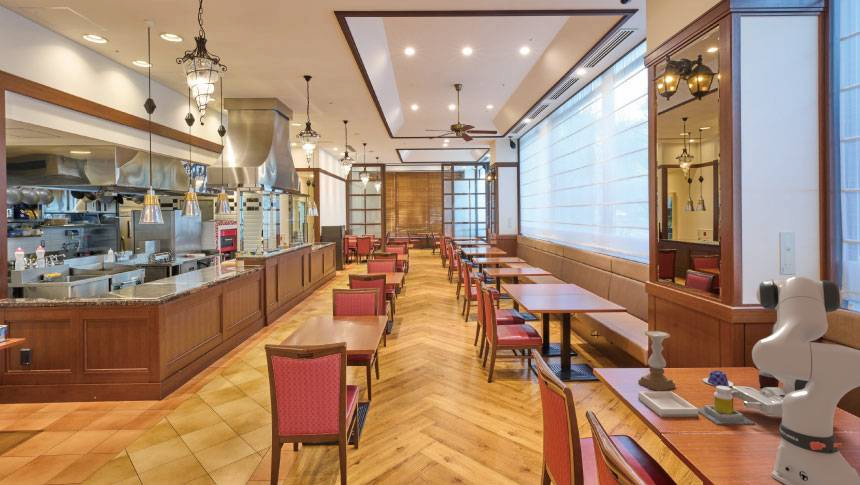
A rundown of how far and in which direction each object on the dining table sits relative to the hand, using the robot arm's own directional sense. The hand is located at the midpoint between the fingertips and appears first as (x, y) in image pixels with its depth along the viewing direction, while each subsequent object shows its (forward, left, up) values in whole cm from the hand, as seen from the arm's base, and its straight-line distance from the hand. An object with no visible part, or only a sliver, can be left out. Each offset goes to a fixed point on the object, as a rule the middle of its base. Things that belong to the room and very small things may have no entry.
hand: (736, 399), depth 167 cm
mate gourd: (+27, -33, -7) cm, 43 cm away
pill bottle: (0, +5, -7) cm, 8 cm away
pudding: (+36, -17, -7) cm, 41 cm away
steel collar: (0, +5, -6) cm, 8 cm away
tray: (+9, +21, -6) cm, 24 cm away
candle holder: (+33, +13, -7) cm, 36 cm away
